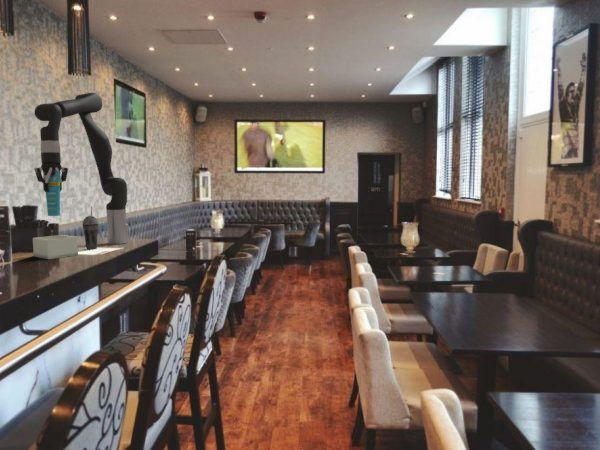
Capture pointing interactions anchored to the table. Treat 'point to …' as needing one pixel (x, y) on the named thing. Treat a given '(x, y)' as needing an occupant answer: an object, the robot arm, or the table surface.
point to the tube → (53, 195)
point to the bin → (55, 246)
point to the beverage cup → (90, 231)
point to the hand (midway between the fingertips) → (52, 191)
